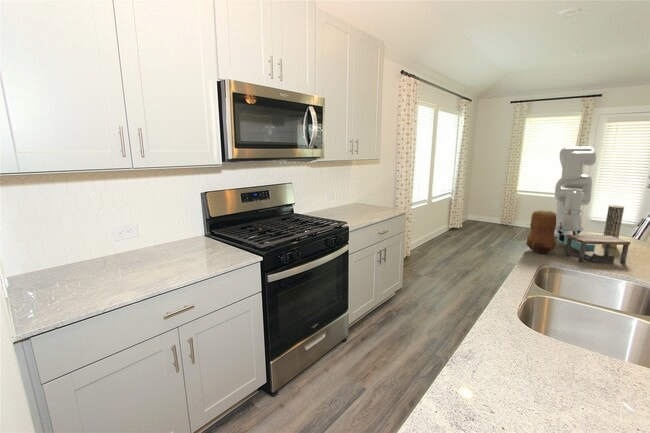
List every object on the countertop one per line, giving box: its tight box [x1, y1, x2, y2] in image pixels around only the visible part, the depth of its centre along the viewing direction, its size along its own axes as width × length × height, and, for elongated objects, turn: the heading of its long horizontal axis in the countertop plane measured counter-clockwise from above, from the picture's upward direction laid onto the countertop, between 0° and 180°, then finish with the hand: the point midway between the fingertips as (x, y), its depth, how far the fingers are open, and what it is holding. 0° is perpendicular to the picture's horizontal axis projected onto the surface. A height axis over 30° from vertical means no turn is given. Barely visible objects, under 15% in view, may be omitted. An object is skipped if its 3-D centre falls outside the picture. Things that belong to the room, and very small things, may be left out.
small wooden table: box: [564, 234, 631, 265], centre depth 166 cm, size 13×22×12 cm, turn 84°
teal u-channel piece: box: [557, 235, 596, 253], centre depth 181 cm, size 22×6×4 cm, turn 174°
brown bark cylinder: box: [601, 204, 625, 249], centre depth 187 cm, size 7×7×25 cm
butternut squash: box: [526, 208, 557, 255], centre depth 176 cm, size 14×13×25 cm
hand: (567, 240), depth 188 cm, fingers closed on teal u-channel piece, 6 cm apart
